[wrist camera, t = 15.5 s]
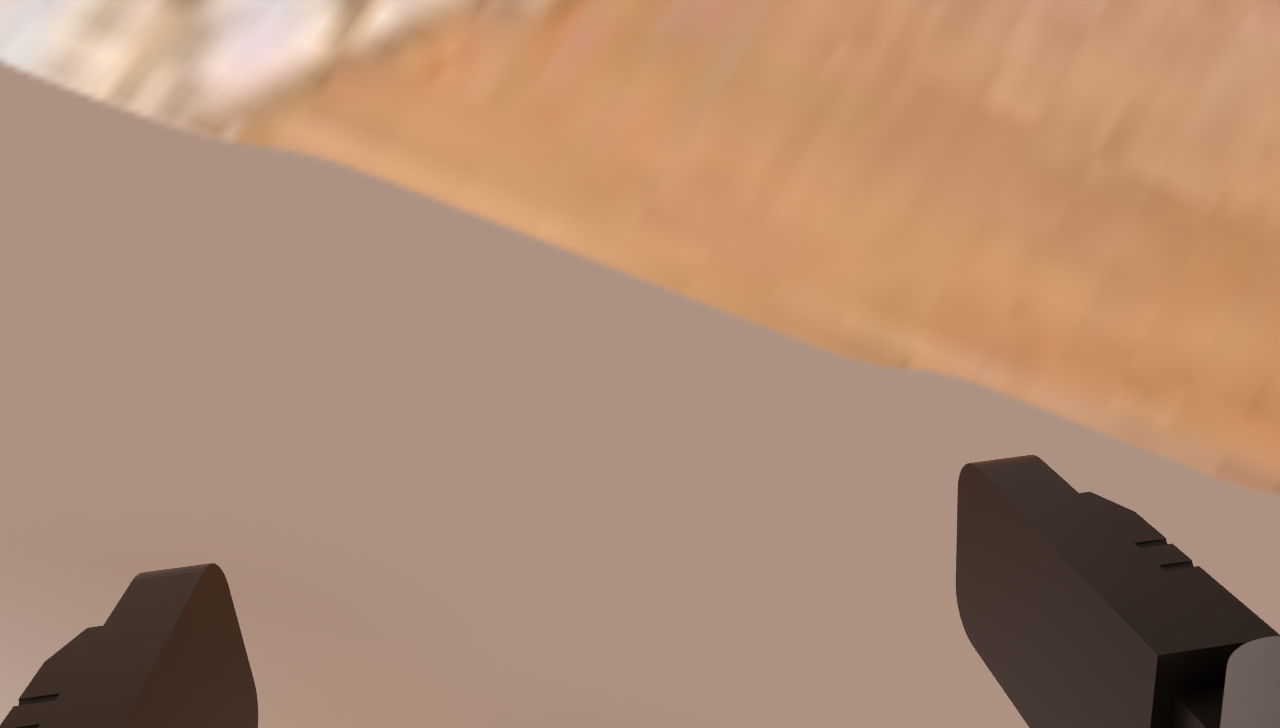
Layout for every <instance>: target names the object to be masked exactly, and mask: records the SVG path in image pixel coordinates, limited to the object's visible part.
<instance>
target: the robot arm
mask: <svg viewBox="0 0 1280 728" xmlns="http://www.w3.org/2000/svg"><path fill="white" fill-rule="evenodd" d="M957 509H958V510H957V511H958V512H957V556H956V595H957V602H958V608H959V612H960V617H961V620H962V623H963V626H964V629H965V631H966V634H967V636H968V638H969V640H970V642H971V643H972V645H973V646H974V648H975V650H976V651H977V652H978V654H979V655H980V657H981V658H982V660H983V661H984V662H985V664H986V665H987V667H988V668H989V670H990V671H991V673H992V674H993V675H994V677H995V678H996V680H997V681H998V683H999V684H1000V686H1001V687H1002V688H1003V690H1004V691H1005V693H1006V694H1007V696H1008V697H1009V699H1010V700H1011V701H1012V703H1013V704H1014V706H1015V707H1016V709H1017V710H1018V711H1019V713H1020V714H1021V716H1022V717H1023V719H1024V720H1025V722H1026V723H1027V725H1028V726H1029V727H1030V728H1280V635H1279V634H1278V633H1277V632H1276V631H1275V630H1273V629H1272V628H1271V627H1270V626H1269V625H1268V624H1266V623H1265V622H1264V621H1263V620H1262V619H1260V618H1259V617H1258V616H1257V615H1256V614H1255V613H1253V612H1252V611H1251V610H1250V609H1249V608H1247V607H1246V606H1245V605H1244V604H1243V603H1242V602H1240V601H1239V600H1238V599H1237V598H1236V597H1235V596H1233V595H1232V594H1231V593H1230V592H1229V591H1227V590H1226V589H1225V588H1224V587H1223V586H1222V585H1220V584H1219V583H1218V582H1217V581H1216V580H1215V579H1213V578H1212V577H1211V576H1210V575H1209V574H1207V573H1206V572H1205V571H1204V570H1203V569H1202V568H1200V567H1199V566H1197V567H1194V566H1193V564H1192V560H1191V559H1190V558H1189V557H1187V556H1186V555H1185V554H1184V553H1183V552H1182V551H1180V550H1179V549H1178V548H1177V547H1175V545H1173V544H1167V542H1166V538H1165V537H1164V536H1163V535H1162V534H1160V533H1159V532H1158V531H1157V530H1156V529H1154V528H1153V527H1152V526H1151V525H1150V524H1148V523H1147V522H1146V521H1145V520H1144V519H1143V518H1142V517H1140V516H1139V515H1138V514H1137V513H1136V512H1134V511H1132V510H1130V509H1127V508H1125V507H1123V506H1120V505H1118V504H1116V503H1114V502H1112V501H1110V500H1107V499H1105V498H1103V497H1101V496H1098V495H1096V494H1094V493H1091V492H1085V493H1078V492H1077V491H1076V490H1075V489H1074V488H1072V487H1071V486H1070V485H1069V484H1068V483H1067V482H1066V481H1065V480H1064V479H1062V478H1061V477H1060V476H1059V475H1058V474H1057V473H1056V472H1055V471H1054V470H1052V469H1051V468H1050V467H1049V466H1048V465H1047V464H1046V463H1045V462H1043V461H1042V460H1041V459H1040V458H1039V457H1037V456H1034V455H1027V456H1020V457H1012V458H1005V459H997V460H990V461H983V462H975V463H969V464H966V465H965V466H964V467H963V468H962V470H961V473H960V476H959V481H958V508H957ZM0 728H258V702H257V693H256V688H255V683H254V679H253V676H252V672H251V668H250V665H249V661H248V657H247V653H246V649H245V646H244V642H243V638H242V635H241V631H240V627H239V623H238V620H237V616H236V612H235V608H234V604H233V601H232V597H231V594H230V590H229V586H228V583H227V580H226V577H225V575H224V573H223V571H222V570H221V569H220V567H219V566H218V565H216V564H214V563H211V564H203V565H196V566H189V567H181V568H174V569H166V570H159V571H151V572H144V573H140V574H139V575H137V576H136V577H135V578H134V579H133V580H132V582H131V584H130V585H129V587H128V588H127V590H126V591H125V593H124V594H123V596H122V598H121V599H120V601H119V602H118V604H117V605H116V607H115V608H114V610H113V612H112V613H111V615H110V616H109V618H108V619H107V621H106V623H105V624H104V625H103V626H98V627H91V628H87V629H86V630H84V631H83V632H82V633H80V634H79V635H78V636H77V637H75V638H74V639H73V640H72V641H70V642H69V643H68V644H67V645H65V646H64V647H63V648H62V649H61V650H59V651H58V652H57V653H55V654H54V655H53V656H52V657H50V658H49V659H48V660H47V661H45V662H44V664H43V665H42V666H41V668H40V669H39V671H38V672H37V674H36V675H35V676H34V678H33V679H32V681H31V682H30V684H29V685H28V687H27V688H26V689H25V691H24V692H23V694H22V695H21V696H20V698H19V706H14V707H13V708H12V710H11V711H10V712H9V714H8V715H7V717H6V718H5V719H4V721H3V722H2V724H1V725H0Z"/></svg>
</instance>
